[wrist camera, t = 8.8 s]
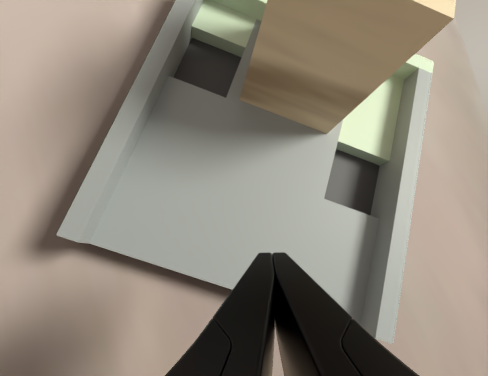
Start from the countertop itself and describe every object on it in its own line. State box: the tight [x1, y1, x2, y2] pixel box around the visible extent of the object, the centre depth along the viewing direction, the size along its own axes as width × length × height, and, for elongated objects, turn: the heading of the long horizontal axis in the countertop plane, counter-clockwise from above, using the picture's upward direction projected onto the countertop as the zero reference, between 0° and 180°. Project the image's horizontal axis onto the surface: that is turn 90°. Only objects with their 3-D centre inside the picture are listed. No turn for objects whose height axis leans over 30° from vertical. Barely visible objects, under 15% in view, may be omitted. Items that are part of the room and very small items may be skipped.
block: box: [239, 0, 456, 134], centre depth 14 cm, size 6×6×9 cm
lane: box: [56, 0, 434, 344], centre depth 17 cm, size 18×17×3 cm
